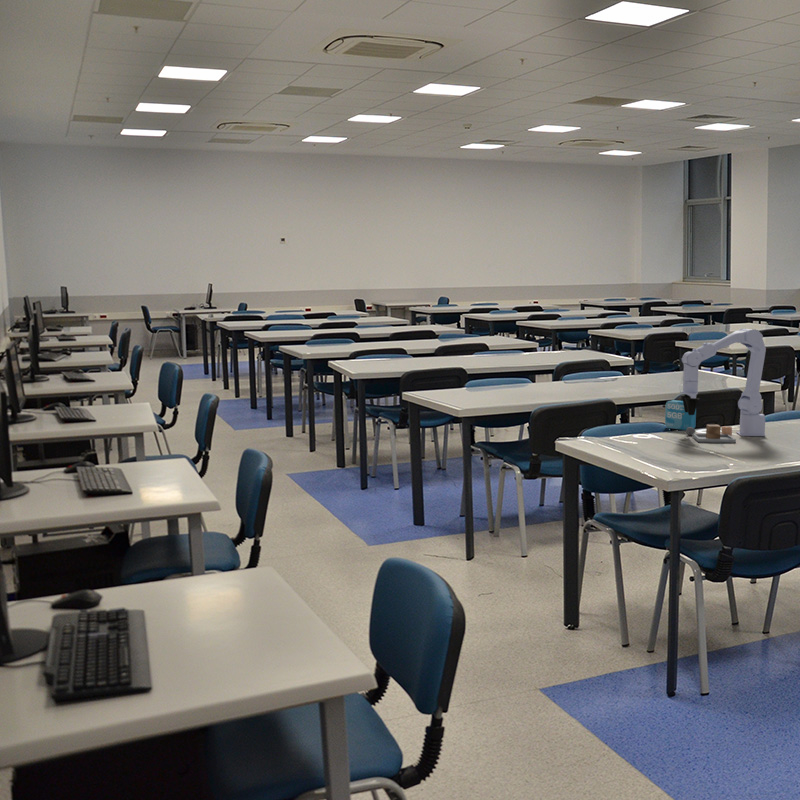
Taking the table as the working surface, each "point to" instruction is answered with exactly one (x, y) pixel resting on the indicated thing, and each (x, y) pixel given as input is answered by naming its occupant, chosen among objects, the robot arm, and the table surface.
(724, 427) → the peach rounded tapered piece
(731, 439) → the tray
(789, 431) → the table surface
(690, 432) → the rubber ball
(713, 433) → the walnut block
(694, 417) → the data package
